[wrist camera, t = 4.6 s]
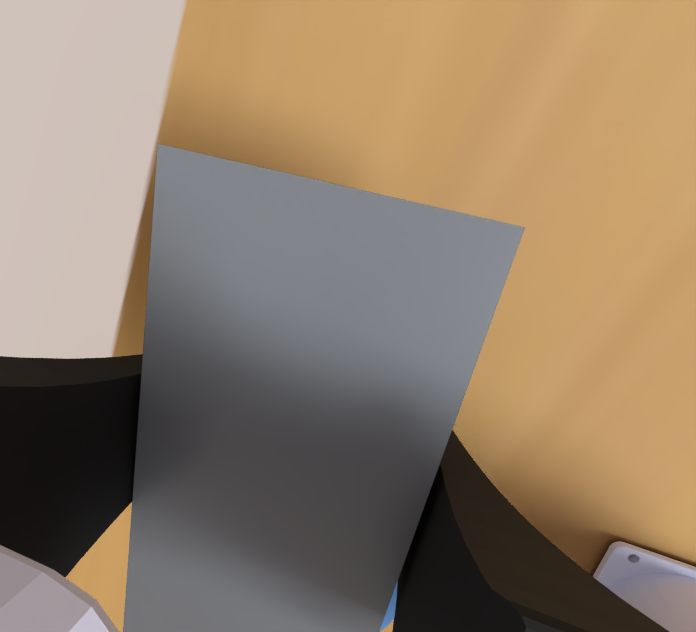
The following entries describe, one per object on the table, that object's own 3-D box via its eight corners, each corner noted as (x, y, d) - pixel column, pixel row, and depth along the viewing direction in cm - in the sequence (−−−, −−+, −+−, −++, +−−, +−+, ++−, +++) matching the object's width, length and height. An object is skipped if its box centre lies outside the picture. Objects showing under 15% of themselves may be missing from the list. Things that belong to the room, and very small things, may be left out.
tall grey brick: (473, 229, 11) (524, 227, 5) (370, 550, 14) (333, 760, 8) (289, 187, 12) (158, 143, 6) (235, 497, 15) (121, 655, 9)
